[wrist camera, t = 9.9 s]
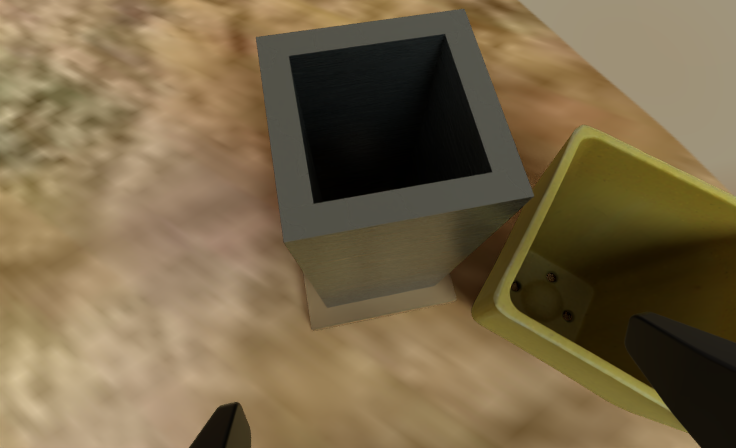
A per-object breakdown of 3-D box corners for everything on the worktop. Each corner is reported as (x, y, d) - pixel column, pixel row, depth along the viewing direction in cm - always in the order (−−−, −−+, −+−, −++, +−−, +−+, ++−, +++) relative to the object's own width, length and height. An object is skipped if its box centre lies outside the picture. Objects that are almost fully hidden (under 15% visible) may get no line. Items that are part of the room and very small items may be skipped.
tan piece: (452, 302, 22) (479, 287, 17) (313, 331, 21) (300, 324, 16) (418, 177, 24) (433, 134, 19) (293, 199, 23) (277, 160, 19)
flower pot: (501, 202, 24) (582, 117, 15) (635, 274, 22) (805, 225, 14) (436, 325, 21) (489, 305, 13) (582, 415, 20) (751, 460, 11)
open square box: (434, 285, 21) (534, 196, 9) (327, 307, 20) (283, 242, 8) (409, 188, 23) (464, 8, 11) (310, 205, 22) (255, 37, 10)
